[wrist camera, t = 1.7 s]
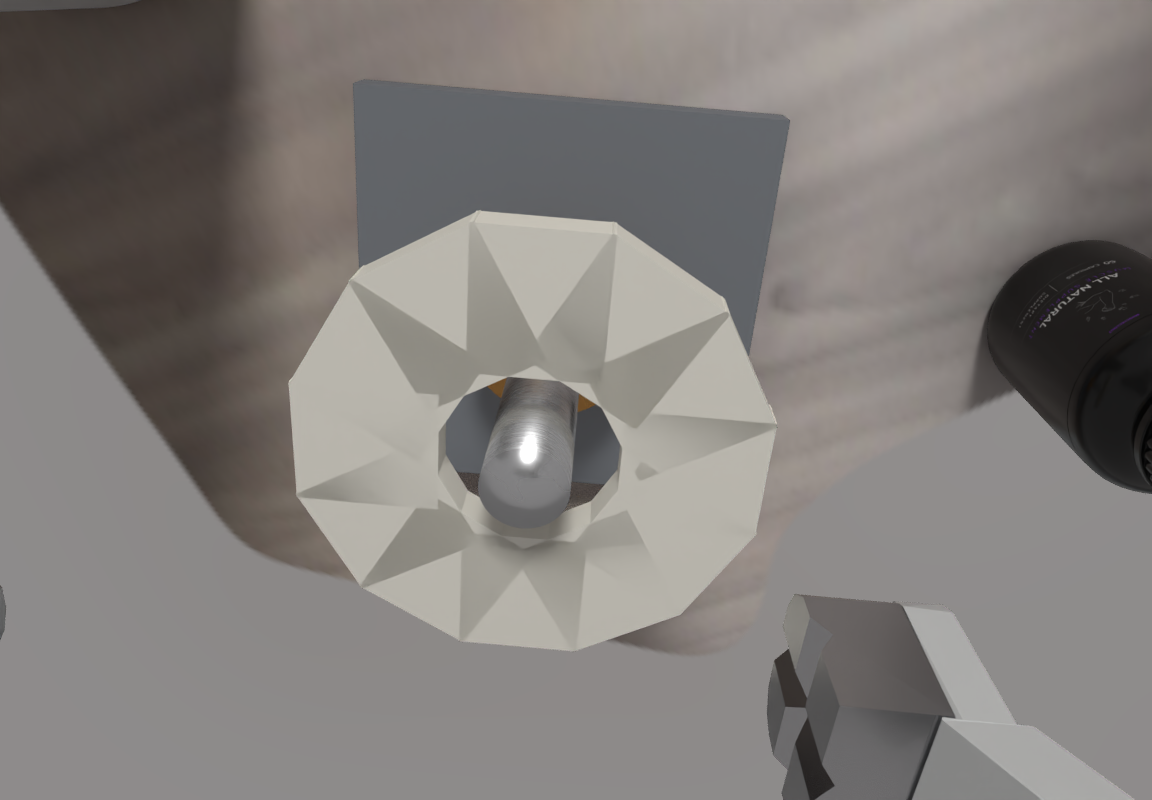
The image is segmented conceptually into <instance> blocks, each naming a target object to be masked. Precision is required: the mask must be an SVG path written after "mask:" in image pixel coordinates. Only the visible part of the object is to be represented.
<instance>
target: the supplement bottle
mask: <svg viewBox="0 0 1152 800" xmlns="http://www.w3.org/2000/svg"><path fill="white" fill-rule="evenodd" d="M987 337H988V345H989V350H990V353H991V356H992V358H993V360H994V362H995V364H996V366H997V367H998V369H999V370H1000V372H1001V373H1002V374H1003V375H1004V377H1005V378H1006V379H1007V380H1008V381H1009V382H1010V383H1011V385H1012V386H1013V387H1014V388H1015V389H1016V390H1017V391H1018V392H1019V393H1020V394H1021V395H1022V396H1023V398H1024V399H1025V400H1026V401H1027V402H1028V403H1029V404H1030V405H1031V406H1032V407H1033V408H1034V409H1035V410H1036V411H1037V412H1038V413H1039V415H1040V416H1041V417H1042V418H1043V419H1044V420H1045V421H1046V422H1047V423H1048V424H1049V425H1050V426H1051V427H1052V428H1053V429H1054V431H1056V433H1057V434H1058V435H1059V436H1060V437H1061V438H1062V439H1063V440H1064V441H1065V442H1066V443H1067V444H1068V445H1069V446H1070V447H1071V449H1072V450H1073V451H1074V452H1075V453H1076V454H1077V455H1078V456H1079V457H1080V458H1081V459H1082V460H1083V461H1084V462H1085V463H1086V464H1087V465H1088V466H1089V467H1090V468H1091V469H1092V470H1094V471H1095V472H1096V473H1097V474H1098V475H1100V476H1101V477H1102V478H1104V479H1106V480H1108V481H1109V482H1111V483H1113V484H1115V485H1118V486H1120V487H1122V488H1126V489H1129V490H1133V491H1137V492H1142V493H1149V494H1152V259H1150V258H1148V257H1146V256H1144V255H1142V254H1140V253H1138V252H1136V251H1134V250H1132V249H1130V248H1128V247H1126V246H1123V245H1120V244H1117V243H1113V242H1108V241H1100V240H1086V241H1077V242H1071V243H1067V244H1063V245H1060V246H1057V247H1054V248H1052V249H1050V250H1047V251H1045V252H1043V253H1041V254H1039V255H1038V256H1036V257H1034V258H1033V259H1031V260H1030V261H1028V262H1027V263H1026V264H1024V265H1023V266H1022V267H1021V268H1020V269H1019V270H1017V271H1016V272H1015V273H1014V274H1013V275H1012V276H1011V278H1010V279H1009V280H1008V281H1007V282H1006V284H1005V285H1004V286H1003V288H1002V289H1001V291H1000V292H999V294H998V296H997V298H996V300H995V302H994V304H993V306H992V309H991V312H990V316H989V321H988V328H987Z"/></svg>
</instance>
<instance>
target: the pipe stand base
mask: <svg viewBox="0 0 1152 800" xmlns="http://www.w3.org/2000/svg"><path fill="white" fill-rule="evenodd" d="M353 98H354V129H355V160H356V191H357V221H358V252H359V269H360V268H361V267H362V266H363V265H364V266H365V265H367V264H369V263H371V262H373V261H375V260H377V259H380V258H382V257H384V256H386V255H388V254H390V253H392V252H394V251H396V250H398V249H400V248H402V247H404V246H406V245H409V244H411V243H413V242H415V241H417V240H419V239H421V238H423V237H425V236H427V235H429V234H431V233H433V232H435V231H438V230H440V229H442V228H444V227H446V226H448V225H450V224H452V223H454V222H456V221H458V220H460V219H462V218H464V217H467V216H469V215H471V214H473V213H475V212H476V211H479V210H481V211H488V212H500V213H511V214H523V215H535V216H546V217H558V218H570V219H581V220H593V221H605V222H613V221H614V222H617V224H618V225H620V226H621V227H622V228H624V229H625V230H627V231H628V232H630V233H631V234H632V235H634V236H635V237H637V238H638V239H640V240H641V241H643V242H644V243H645V244H647V245H648V246H650V247H651V248H653V249H654V250H655V251H657V252H658V253H660V254H661V255H663V256H664V257H666V258H667V259H668V260H670V261H671V262H673V263H674V264H676V265H677V266H678V267H680V268H681V269H683V270H684V271H686V272H687V273H689V274H690V275H691V276H693V277H694V278H696V279H697V280H699V281H700V282H701V283H703V284H704V285H706V286H707V287H709V288H710V289H711V290H713V291H714V292H716V293H717V294H719V295H720V296H723V298H724V299H725V300H726V303H727V306H728V309H729V312H730V315H731V317H732V319H733V322H734V324H735V326H736V329H737V331H738V334H739V336H740V338H741V341H742V343H743V345H744V348H745V350H746V352H747V355H748V357H749V352H750V346H751V340H752V335H753V329H754V323H755V318H756V312H757V306H758V301H759V295H760V289H761V283H762V278H763V272H764V266H765V261H766V255H767V249H768V243H769V238H770V232H771V226H772V221H773V215H774V209H775V204H776V198H777V192H778V186H779V181H780V175H781V169H782V164H783V158H784V152H785V146H786V141H787V135H788V129H789V124H790V120H789V119H787V118H786V117H785V116H783V115H776V114H764V113H752V112H741V111H729V110H717V109H705V108H693V107H682V106H670V105H658V104H646V103H635V102H623V101H611V100H599V99H588V98H576V97H564V96H552V95H541V94H529V93H517V92H505V91H494V90H482V89H470V88H458V87H447V86H435V85H423V84H411V83H399V82H388V81H376V80H361V81H358V82H355V83H353ZM500 401H501V398H500V397H499V396H497V395H496V394H495V393H494V392H493V391H492V390H491V389H489V388H488V386H486V387H484V388H481V389H479V390H477V391H474V392H472V393H470V394H467V395H465V396H464V397H463V398H462V399H461V401H460V402H459V404H458V405H457V407H456V408H455V409H454V411H453V412H452V414H451V415H450V417H449V418H448V419H447V421H446V456H447V457H448V459H449V461H450V462H451V464H452V465H453V467H454V469H455V470H456V472H466V473H477V474H480V473H481V469H482V466H483V462H484V459H485V455H486V451H487V448H488V444H489V440H490V437H491V433H492V430H493V426H494V422H495V419H496V415H497V412H498V408H499V404H500ZM619 452H620V443H619V441H618V439H617V437H616V435H615V433H614V431H613V429H612V427H611V425H610V423H609V421H608V419H607V417H606V415H605V414H604V412H603V410H602V408H601V407H599V406H598V405H594V406H592V407H590V408H588V409H585V410H582V411H580V412H577V423H576V434H575V446H574V457H573V468H572V480H571V482H581V483H592V484H604V485H605V484H606V483H607V481H608V480H609V479H610V478H611V476H612V475H613V474H614V473H615V472H616V470H617V469H618V461H619Z"/></svg>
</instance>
